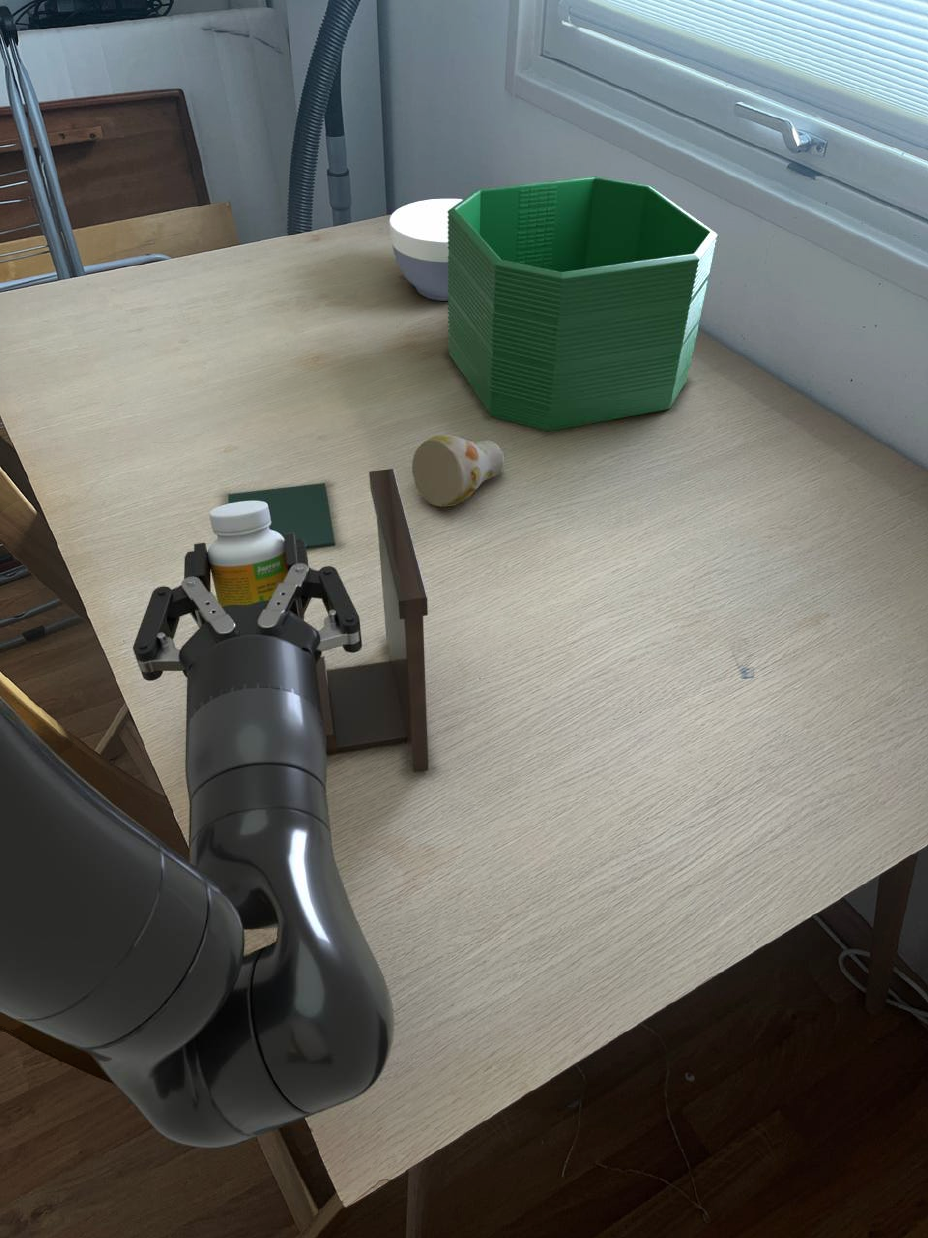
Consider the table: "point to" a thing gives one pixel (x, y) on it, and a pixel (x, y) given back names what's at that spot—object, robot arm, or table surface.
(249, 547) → the supplement bottle
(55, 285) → the table surface
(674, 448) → the table surface
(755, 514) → the table surface
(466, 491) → the fruit print bud vase
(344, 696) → the stand
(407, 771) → the table surface
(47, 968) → the robot arm
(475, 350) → the planter
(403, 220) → the bowl
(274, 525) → the rubber mat
